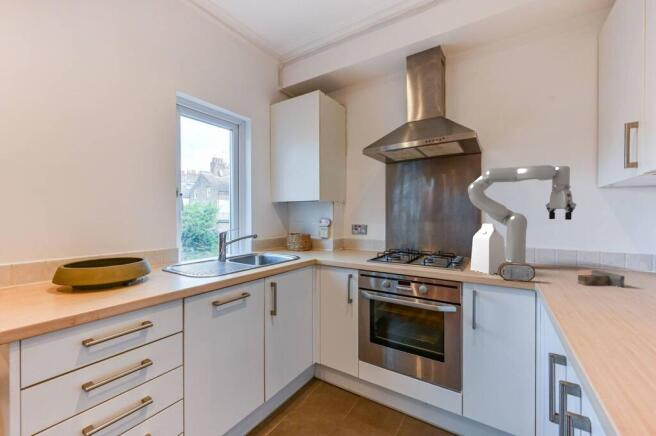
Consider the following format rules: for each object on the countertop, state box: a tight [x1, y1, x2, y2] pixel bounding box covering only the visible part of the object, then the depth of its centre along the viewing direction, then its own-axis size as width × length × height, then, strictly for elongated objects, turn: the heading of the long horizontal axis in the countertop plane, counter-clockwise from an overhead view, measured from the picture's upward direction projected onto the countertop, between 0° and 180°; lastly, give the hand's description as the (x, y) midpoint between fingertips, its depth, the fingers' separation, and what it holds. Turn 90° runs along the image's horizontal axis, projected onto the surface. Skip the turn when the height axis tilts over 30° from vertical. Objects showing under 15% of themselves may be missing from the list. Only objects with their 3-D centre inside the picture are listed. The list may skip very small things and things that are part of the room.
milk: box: [470, 222, 506, 275], centre depth 153 cm, size 12×12×26 cm
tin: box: [497, 262, 536, 282], centre depth 133 cm, size 15×3×8 cm, turn 74°
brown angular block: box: [577, 269, 625, 288], centre depth 127 cm, size 14×12×5 cm
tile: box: [578, 269, 615, 275], centre depth 143 cm, size 2×10×10 cm
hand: (559, 219), depth 158 cm, fingers open, 9 cm apart
